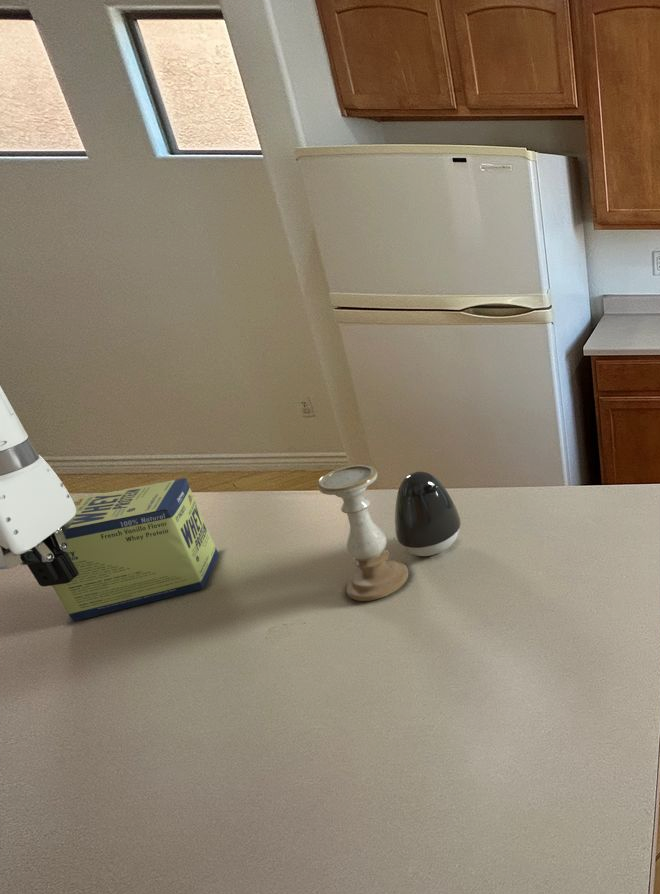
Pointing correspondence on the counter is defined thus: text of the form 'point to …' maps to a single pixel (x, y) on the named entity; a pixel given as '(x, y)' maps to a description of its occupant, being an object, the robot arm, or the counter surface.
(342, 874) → the counter surface
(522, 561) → the counter surface
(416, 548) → the dark grey egg shape
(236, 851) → the counter surface
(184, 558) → the protein box
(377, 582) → the candle holder
